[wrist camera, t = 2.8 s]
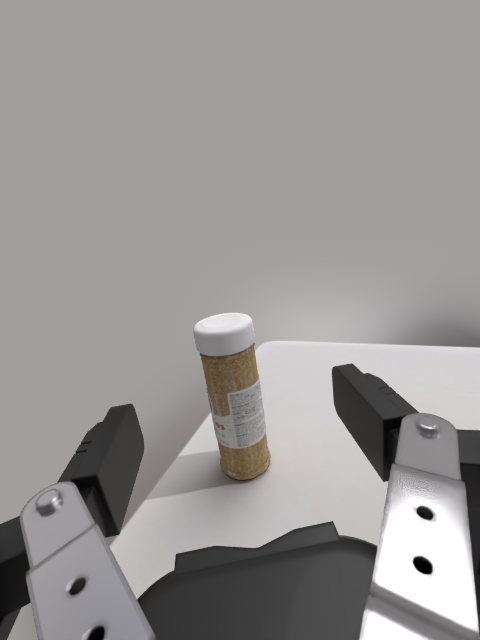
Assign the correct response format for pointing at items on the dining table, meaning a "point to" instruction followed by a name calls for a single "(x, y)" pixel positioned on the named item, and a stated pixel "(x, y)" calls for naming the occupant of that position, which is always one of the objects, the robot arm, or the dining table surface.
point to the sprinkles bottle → (234, 392)
